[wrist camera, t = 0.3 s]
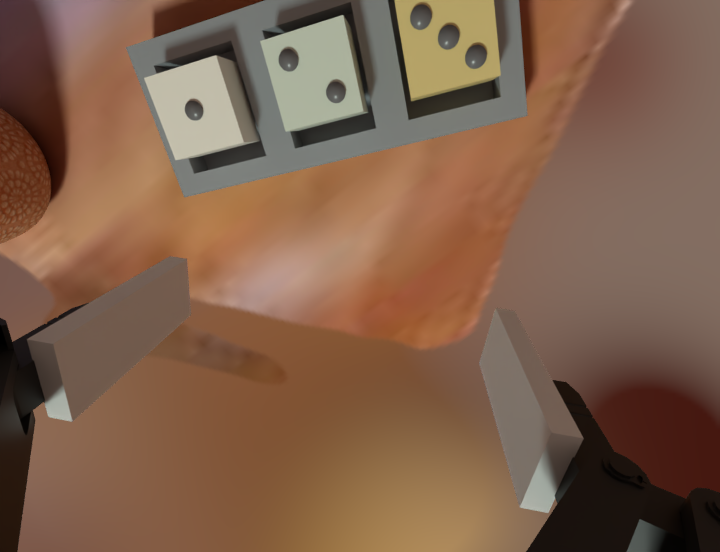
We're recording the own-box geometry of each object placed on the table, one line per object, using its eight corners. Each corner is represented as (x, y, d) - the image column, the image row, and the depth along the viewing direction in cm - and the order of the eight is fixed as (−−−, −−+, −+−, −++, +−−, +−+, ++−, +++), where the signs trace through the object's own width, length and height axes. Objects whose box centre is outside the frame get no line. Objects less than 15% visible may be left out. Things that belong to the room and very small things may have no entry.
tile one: (171, 82, 36) (142, 77, 32) (236, 62, 35) (214, 54, 31) (197, 156, 39) (174, 160, 35) (260, 140, 37) (242, 142, 33)
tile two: (276, 49, 34) (259, 40, 30) (350, 27, 33) (342, 13, 29) (298, 130, 37) (284, 131, 33) (368, 112, 35) (363, 111, 31)
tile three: (396, 13, 32) (394, -3, 28) (481, -14, 31) (491, -34, 27) (411, 101, 34) (411, 98, 30) (490, 80, 33) (501, 75, 29)
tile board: (153, 54, 38) (126, 47, 35) (501, -60, 32) (512, -84, 28) (203, 191, 43) (184, 197, 39) (515, 116, 36) (527, 115, 33)
